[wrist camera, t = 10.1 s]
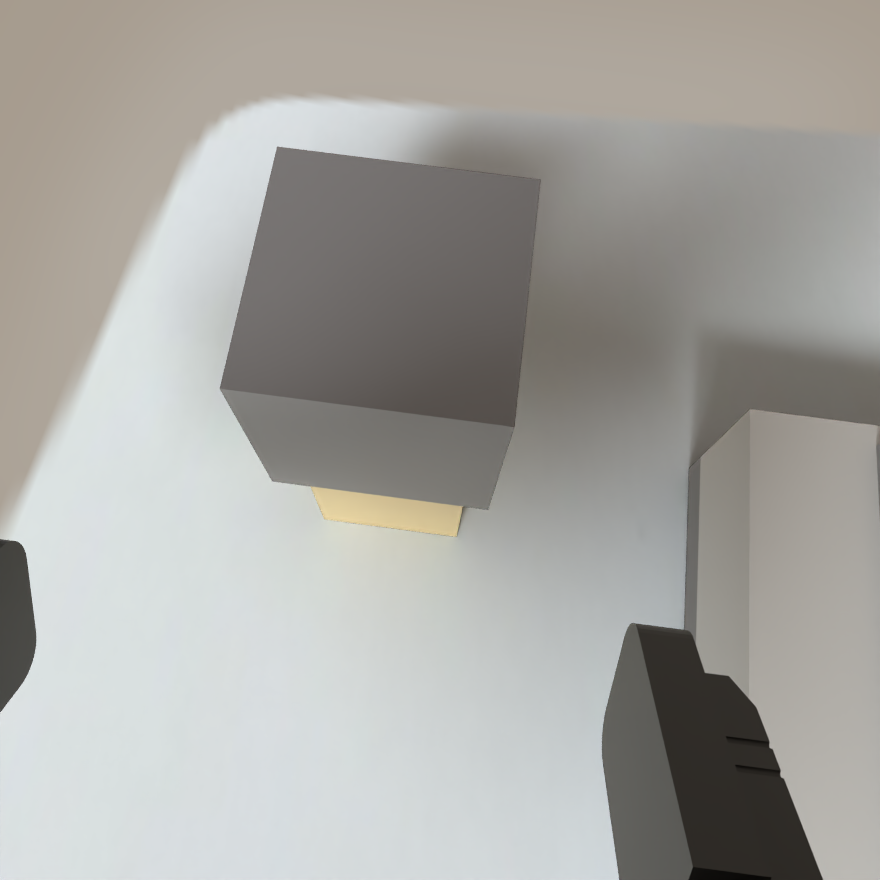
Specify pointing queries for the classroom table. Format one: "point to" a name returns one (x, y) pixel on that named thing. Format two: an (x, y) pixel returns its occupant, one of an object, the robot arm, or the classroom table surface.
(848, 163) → the classroom table surface
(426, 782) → the classroom table surface
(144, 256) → the classroom table surface
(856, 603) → the socket
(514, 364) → the plug
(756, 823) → the robot arm
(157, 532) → the classroom table surface
